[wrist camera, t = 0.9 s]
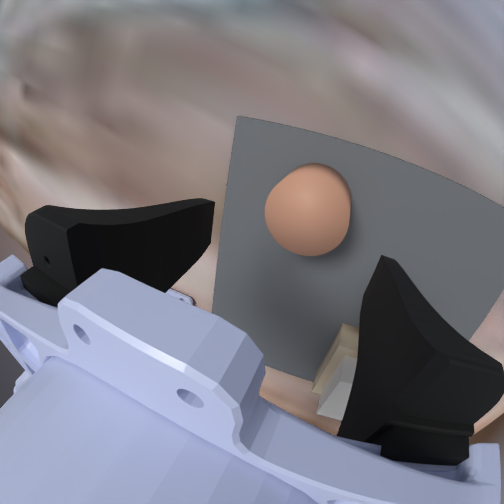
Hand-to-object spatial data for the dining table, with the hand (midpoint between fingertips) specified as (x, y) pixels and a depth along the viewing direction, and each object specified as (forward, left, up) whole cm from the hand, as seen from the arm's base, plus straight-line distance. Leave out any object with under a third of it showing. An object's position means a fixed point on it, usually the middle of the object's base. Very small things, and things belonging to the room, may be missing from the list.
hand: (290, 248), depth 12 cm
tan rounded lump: (0, 0, -7) cm, 7 cm away
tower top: (+8, -12, -5) cm, 15 cm away
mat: (+5, -7, -8) cm, 11 cm away
